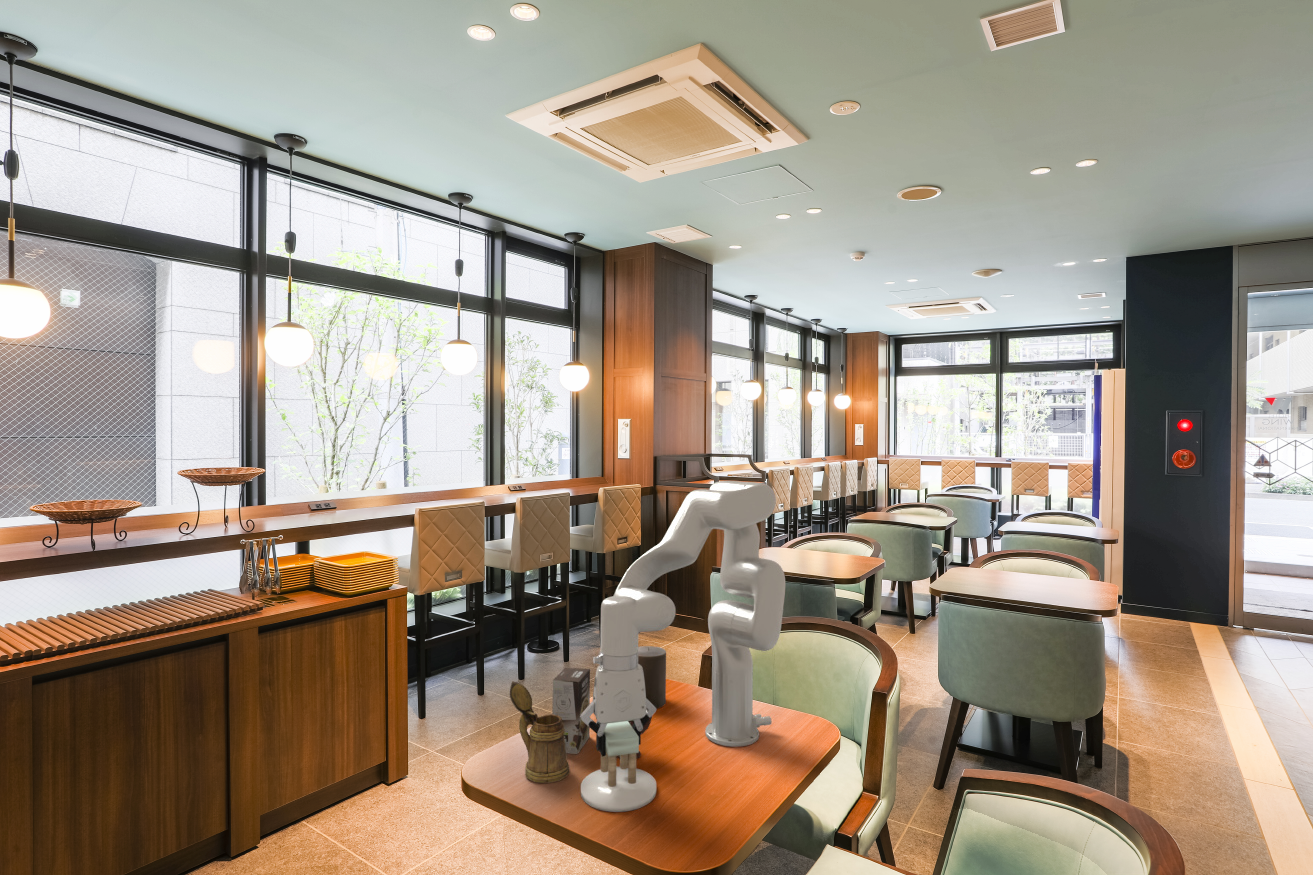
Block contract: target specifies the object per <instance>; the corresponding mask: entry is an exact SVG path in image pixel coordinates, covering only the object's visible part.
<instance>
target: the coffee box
mask: <svg viewBox="0 0 1313 875" xmlns="http://www.w3.org/2000/svg"><path fill="white" fill-rule="evenodd" d="M590 692H591V669H590V668H582V667H581V668H579V667H577V668H576V667H565V668H563V669H562V670H561V671H560V673H558V674H557V675H556V677H554V678H553V679H552V712H551V714H553V715H558V716H560V717H561V718H562V723H563V725H564V729H565V733H564V740H565V748H566V754H571V755H572V754H573V755H578V754H579V753H580V751H581V750H582V749H583V747H584V746H585V744H586V743H587V741H588V740H589V739H590V738H591V737H590V735H591V733H590V732H591V731H590V730H591V728H590V727H589V726H588V725H586V724H585V723H584V722H583V721H582V720H581V718H580V715H581V714H582V713H583V711H584V710H585V709H586V708H587V707H588V706H589V705H590V703H591V698H590V697H591V694H590Z"/></svg>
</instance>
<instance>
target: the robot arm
mask: <svg viewBox="0 0 1313 875" xmlns="http://www.w3.org/2000/svg"><path fill="white" fill-rule="evenodd" d="M776 506H777V499H776V494H775V491H774V490H773V488H772V487H771V486H769V485H768V484H766V483H763V482H754V481H753V482H752V481H739V480H719V481H715V482H714V483H713V484H711V485H710V487H709V489H706V488H704V489H703V488H702V489H701V488H699V489H694V490H692V491H690V492H689V493H688V494H687V495H686V496H685V497H684V500H683V501H682V503H681V506H680V507H679V509H678V510H677V512H676V514H675V517H674V518H673V520H672V521H671V523H670V525H669V527H668V529H667V531H666V532H665V534H664V536H663V538H662V539H661V541H660V542H659V543H658V544H657V545H654V546H653V547H652V548H650V549H649V550H647V551H646V552H645V553H644V554H642V555H641V556H640V557H638V559H636V560H635V561H634V562H633V563H632V564H631V565H630V566H629V568H628V569H626V571H625V573H624V575H623V577H622V578H621V580H620V582H619V584H618V585H617V587H616V589H615V591H614V594H613V596H609V597H607V598H604V599H603V600H602V602H601V605H600V650H599V653H598V655H597V656H593V657H592V661H593V664H594V665H595V664H597V665H598V666H597V668H596V672H595V677H594V684H593V692H592V693H593V694H592V701H590V705H589V706H588V707H587V708H586V709H585V710H584V711H583V713H582V714H581V715H580V718H581V720H582V721H583V722H584V723H585V724H586V725H588V726H589V727H590V730H592V731H593V732H594V733H595V743H596V745H595V748H596V750H597V751H598V752H599V754H600V757H601V756H602V757H603V756H605V755H606V737H605V735H604V731H605V728H606V725H607V723H616V722H624V721H633V726H632V728H633V729H634V731H635V732H636V734H637V735H638V737H639V746H640V745H641V744H642V742H641V741H642V740H641V739H642V734H641V731H642V730H643V726H644V725H645V724H646V723H647V722H648V721H649V718H650V717H651V716H652V715H654V714H655V713H656V711H657V709H656V708H655V706H654V705H653V704H652V703H651V702H650V701H649V700H648V699H647V698H646V692H645V681H644V674H643V669H642V666H641V665H639V664H638V647H639V635H640V633H641V632H643V633H644V632H646V633H647V632H659V631H662V630H664V629H667V628H668V627H669V626H670V625H671V624H672V623H673V622H674V620H675V617H676V611H677V610H676V606H675V603H674V602H673V600H672V599H671V598H670V597H669V596H667V595H666V594H663V593H661V592H656V591H653V590H652V591H651V590H648V588H649V587H650V585H652V583H654V581H656V580H657V579H658V578H660V577H661V576H663V575H664V574H665V575H666V574H667V573H670V572H673V571H676V570H679V569H681V568H682V569H683V568H685V567H687V566H690V565H692V564H694V563H695V562H696V560H697V559H698V557H699V555H700V553H701V551H702V549H703V547H704V545H705V543H706V541H707V539H708V537H709V535H710V534H711V532H712V531H713V530H714V529H715V530H717V529H718V530H723V534H724V536H723V550H722V556H721V563H720V564H721V565H720V575H719V583H720V586H721V588H722V590H723V591H724V592H726V593H728V594H730V595H733V596H734V595H735V596H738V597H743V598H747V599H752V600H753V604H750V603H747V602H743V601H738V600H733V599H725V600H719V601H717V602H716V603H715V604H713V606H712V607H711V608H710V610H709V613H708V618H707V622H708V623H707V625H708V631H709V637H710V642H711V644H710V645H711V654H712V656H711V658H712V661H711V663H712V667H711V691H712V692H711V722H710V723H709V724H708V725H706V727H705V729H704V730H705V737H706V738H707V739H708V740H709V741H711V742H713V743H714V744H717V745H721V746H724V747H734V748H735V747H739V748H740V747H746V746H749V745H752V744H754V743H756V742H758V740H759V738H760V730H759V729H758V728H760V727H761V726H771V725H772V718H771V716H770V715H766V716H762V714H761V713H757V714H753V705H754V704H753V700H754V699H753V694H754V693H753V686H754V685H753V684H754V683H753V682H754V681H753V678H754V675H753V670H754V668H753V667H754V664H753V657H752V653H751V651H750V649H753V650H756V651H761V652H768V651H770V650H773V648H774V647H775V646H776V645H777V643H778V641H779V638H780V634H781V631H782V630H781V629H782V622H783V613H784V604H785V597H786V596H785V595H786V594H785V593H786V577H785V571H784V570H783V568H782V566H781V565H780V564H779V563H777V562H776V561H774V560H772V559H767V558H762V557H761V558H760V541H761V538H760V537H761V535H760V531H759V527H758V525H757V524H758V523H760V522H763V521H765V520H767V519H768V518H770V516H771V515H772V514H773V512H774V511H775V508H776ZM646 708H647V709H646ZM594 714H595V715H594ZM592 715H594V716H595V719H596V721H595V720H593V719H592V718H591V716H592ZM652 717H653V716H652Z"/></svg>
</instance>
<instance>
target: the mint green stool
mask: <svg viewBox="0 0 1313 875" xmlns="http://www.w3.org/2000/svg"><path fill="white" fill-rule="evenodd" d="M604 735H605V737H606V755H605V756H603V757H602V756H601V755H600V769H601V772H608V786H609V787H615V786H616V767H617V760H618V758H617V756H618V755H620V759H619V767H620V769H627V768H628V783H630V784H634V783H636V768H637V759H636V753H639V751H640V750H639V749H640V748H639V747H640V745H639V737H638V735H637V734H636V732H635V731H634V729H633V728H632V726H631V725H630V723H629V722H628V721H624V722H616V723H607V725H606V728H605V731H604Z"/></svg>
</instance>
